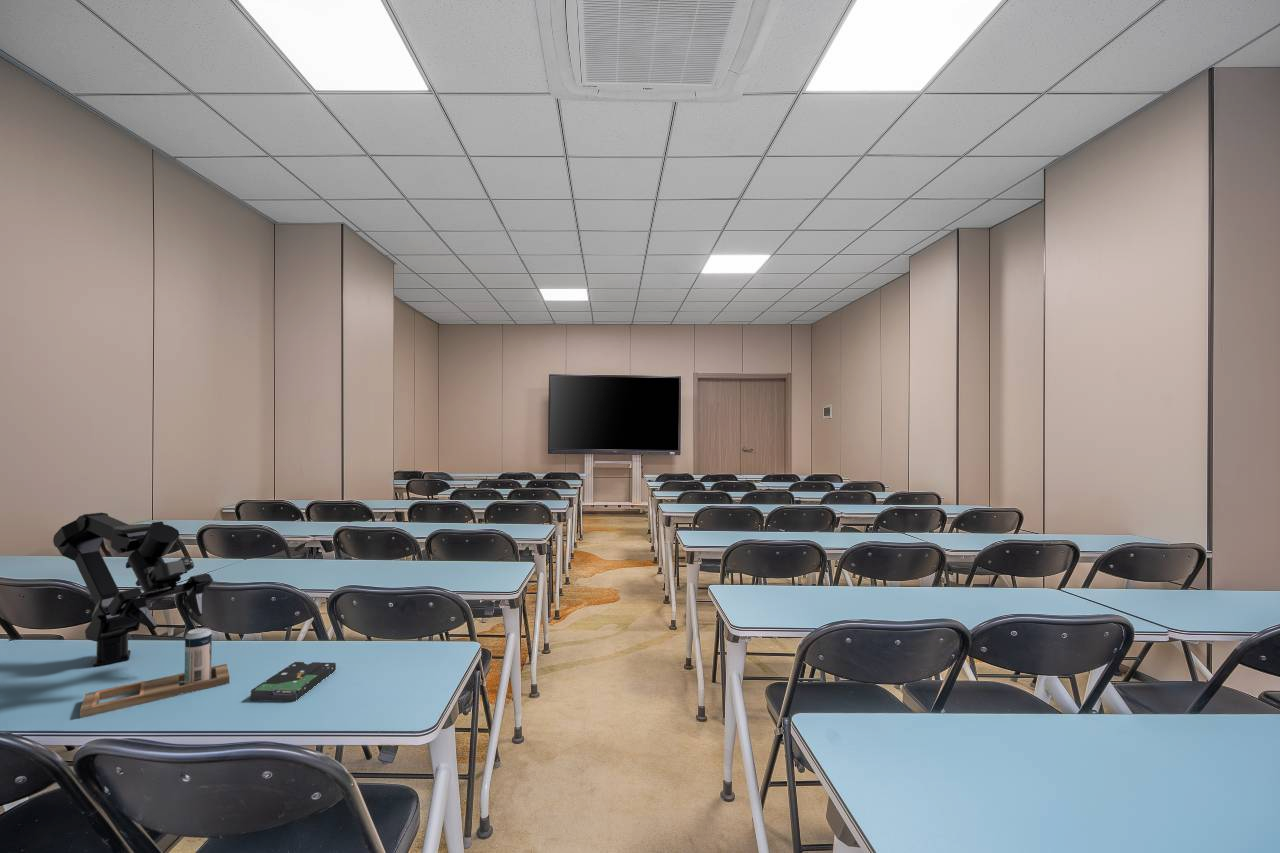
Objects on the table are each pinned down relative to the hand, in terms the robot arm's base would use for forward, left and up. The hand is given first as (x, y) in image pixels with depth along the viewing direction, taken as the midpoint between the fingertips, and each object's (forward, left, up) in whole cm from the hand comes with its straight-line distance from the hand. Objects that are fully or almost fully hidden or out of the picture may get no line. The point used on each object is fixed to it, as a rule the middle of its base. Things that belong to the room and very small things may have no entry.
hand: (178, 621), depth 128 cm
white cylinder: (+7, +4, -13) cm, 15 cm away
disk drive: (+22, +21, -14) cm, 33 cm away
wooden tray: (+7, -3, -13) cm, 15 cm away
